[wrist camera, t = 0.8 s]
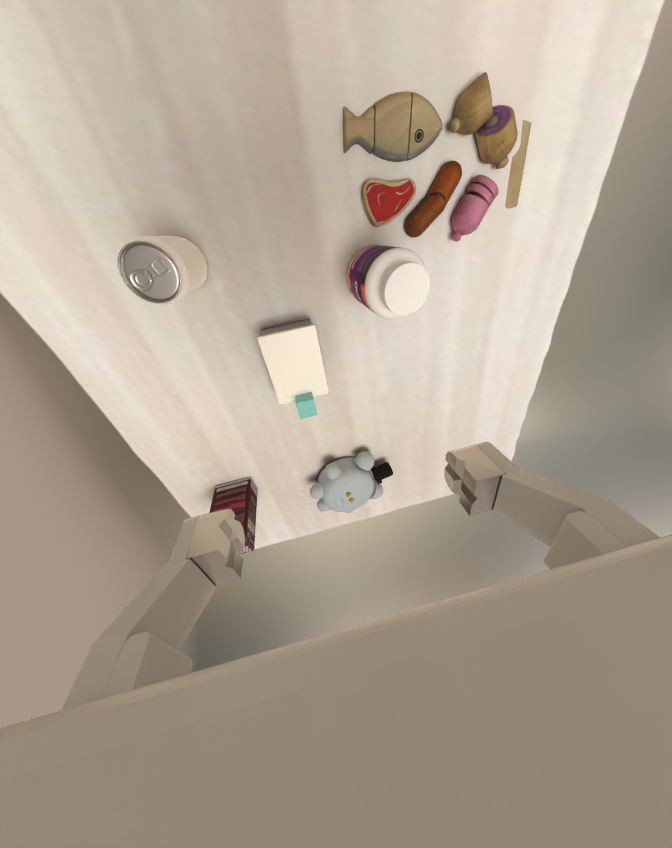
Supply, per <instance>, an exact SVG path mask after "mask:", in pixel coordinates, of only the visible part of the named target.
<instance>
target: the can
mask: <svg viewBox="0 0 672 848" xmlns="http://www.w3.org/2000/svg"><path fill="white" fill-rule="evenodd" d="M118 268H119V272H120V274H121V277H122V279H123V280H124V282H125V283H126V285H127V286H128V287H129V288H130V289H131V290H132V291H133V292H134V293H135V294H136V295H138V296H139V297H141V298H142V299H144V300H147V301H149V302H153V303H158V304H172V303H176V302H178V301H180V300H182V299H183V298H185V297H186V296H188V295H189V294H191V293H192V292H194V291H195V290H197V289H198V288H199V287H201V286H202V285H203V284H204V282H205V280H206V278H207V272H208V270H207V263H206V260H205V258H204V256H203V254H202V253H201V251H200V250H199V249H198V247H197V246H196V245H194V244H193V243H192V242H191V241H189V240H187V239H185V238H182V237H179V236H138V237H135V238H132V239H131V240H129V241H128V242H127V243H126V244H125V245H124V247H123V248H122V249H121V251H120V253H119V256H118Z"/></svg>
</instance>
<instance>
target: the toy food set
mask: <svg viewBox="0 0 672 848" xmlns="http://www.w3.org/2000/svg"><path fill="white" fill-rule="evenodd" d="M343 114H344V153H345V152H346V151H347V150H348V149H349V148H350V147H351V146H353V145H354V144H359V145H360V146H361V147H363V148H364V149H365V150H366V151H367V152H368V153H369V154H371V153H373V155H375V156H377V157H379V158H381V159H384V160H387V161H393V162H401V161H407V160H410V159H413V158H415V157H417V156H418V155H420V154H421V153H423V152H424V151H425V150H426V149H427V148H428V147H429V146H430V145H431V144H432V143H433V142H434V141H435V140H436V138H437V137H438V135H439V134H440V132H441V130H442V122H441V119H440V117H439V115H438V113H437V111H436V110H435V108H434V107H433V105H432V104H431V103H430V102H429V101H428V100H427V99H425V98H424V97H422V96H421V95H419V94H417V93H414V92H412V93H410V92H398V93H394V94H391V95H389V96H386V97H385V98H383V99H381V100H379V101H378V102H376V103H375V104H374V105H373V107H370V108H369V109H368V110H367V111H366V112H365V113H364V114H363V115H362V116H360V117H357V116H355V115H354V114H353V113H351V112H350V111H349V110H348V109H347V108H346V107H344V109H343ZM530 128H531V123H530V122H528V121H525V120H523V125H522V135H521V145H520V148H519V150H518V151H517V153H516V154H515V155H514V156H513V157H512V164H511V170H510V176H509V183H508V189H507V197H506V208H513V207H516V206H517V203H518V197H519V192H520V186H521V180H522V175H523V169H524V163H525V157H526V151H527V145H528V139H529V134H530ZM457 130H458V131H459V132H460V133H462V134H464V135H469V134H472V133H474V132H475V136H476V141H477V145H478V149H479V153H480V157H481V160H482V162H484V163H497V165H496V169H500V168H503V167H505V166H506V165H507V163H508V161H509V160H508V158H507V155H508V154H509V153H510V152H511V150H512V148H513V147H514V145H515V142H516V139H517V127H516V121H515V115H514V111H513V109H512V108H511V107H509V106H505V105H498V106H494V107H492V98H491V91H490V85H489V80H488V76H487V73H486V72H485V73H483V74H482V75H481V76H480V77H479V78H478V79H477V80H476V81H475V82H474V83H473V84H472V85H471V86H470V87H469V88H468V89H467V90H466V91H465V92H464V93H463V94H462V95H461V96H460V98H459V100H458V102H457V105H456V108H455V114H454V119H453V120H452V121H451V123H450V131H451V132H452V133H455V132H457ZM461 176H462V169H461V166H460V164H459V163H458V162H456V161H450V162H447V163H446V164H445V165H444V166H443V167H442V168H441V170H440V172H439V174H438V175H437V177H436V179H435V181H434V183H433V185H432V187H431V189H430V190H429V192H428V194H427V196H426V198H425V199H424V200H423V201H422V202H421V203H420V204H419V205H418V206H417V208H416V209H415V210H414V211H413V212H412V213H411V214H410V215H409V217H408V218H407V220H406V223H405V230H406V233H407V234H408V235H409V236H410V237H418V236H420V235H421V234H422V233H423V232H424V231H425V230H426V229H427V228H428V227H429V225H430V224H431V223H432V222H433V221H434V220H435V219H436V218H437V217H438V216H439V214H440V213H441V212H442V211H443V210H444V208H445V206H446V204H447V202H448V201H449V199H450V197H451V195H452V194H453V192H454V190H455V188H456V187H457V185H458V183H459V181H460V179H461ZM415 192H416V186H415V183H414V181H413V180H412V179H407V180H403V181H398V182H390V181H385V180H380V179H370V180H369V181H368V182H366V183H365V184H364V185H363V187H362V191H361V194H362V201H363V205H364V209H365V212H366V215H367V217H368V219H369V221H370V223H371V224H372V225H373V226H375V227H379V226H382V225H385V224H387V223H388V222H390V221H391V220H393V219H394V218H396V217H397V216H398V215H399V214H400V213H401V212H402V211H403V210H404V209H405V208H406V207H407V206H408V205H409V203H410V202H411V201H412V199H413V197H414V195H415ZM497 194H498V187H497V185H496V184H495V182H494V181H492V180H491V179H490V178H488V177H486V176H484V175H477V176H475V177H474V179H473V180H472V182H471V184H470V185H469V187H468V188H467V190H466V192H465V195H463V197H462V199H461V201H460V203H459V205H458V207H457V208H456V210H455V212H454V215H453V217H452V226H453V229H454V231H455V233H454V234H453V236H452V239H453V240H454V241H459V240H460V239H461V235H467V234H470V233H472V232H473V231H475V230H476V229H477V228H478V226H479V224H480V222H481V221H482V219H483V217H484V215H485V213H486V212H487V210H488V208H489V207H490V205H491V204H492V202H493V200H494V199H495V197H496V196H497Z"/></svg>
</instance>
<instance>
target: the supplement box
mask: <svg viewBox="0 0 672 848" xmlns="http://www.w3.org/2000/svg"><path fill="white" fill-rule="evenodd" d="M256 506H257V487H256V485H255V484H254V482H253V480H252V478H251V477H248V478H244V479H240V480H236V481H233V482H229V483H225V484H221V485H217V486H216V487H215V491H214V495H213V500H212V504H211V509H210V513H212V512H216V511H221V510H225V509H232V511H233V512H234V514H235V518H234V520H237V521H239V522H240V523H241V525H242V527H243V530H244V535H245V545H244V549H243V550H242V551H241V553H240V554H242V553H246V552H249V551H253V550H254V541H255V524H256Z"/></svg>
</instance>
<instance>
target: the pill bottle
mask: <svg viewBox="0 0 672 848" xmlns="http://www.w3.org/2000/svg"><path fill="white" fill-rule="evenodd" d="M347 281H348V286H349V289H350V292H351V293H352V295H353V296H354V297H355V298H356V299H357V300H358V301H359V302H361V303H362V304H363V305H365V306H366V307H367V308H369V309H370V310H371V311H373V312H374V313H375V314H377V315H378V316H380V317H382V318H385V319H398V318H401V317H403V316H405V315H409V314H411V313H413V312H415V311H417V310H418V309H419V308H420V307H421V306H422V305H423V303H424V302H425V300H426V298H427V296H428V293H429V289H430V280H429V276H428V273H427V271H426V269H425V266H424V263H423V261H422V260H421V258H420V257H419V256H418V255H417V254H416V253H415V252H413V251H412V250H409V249H406V248H400V247H388V246H379V245H373V246H368V247H365V248H363V249H362V250H360V251H359V252H358V253H357V254H356V255H355V256H354V258H353V259H352V261H351V263H350V266H349V269H348V274H347Z"/></svg>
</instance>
